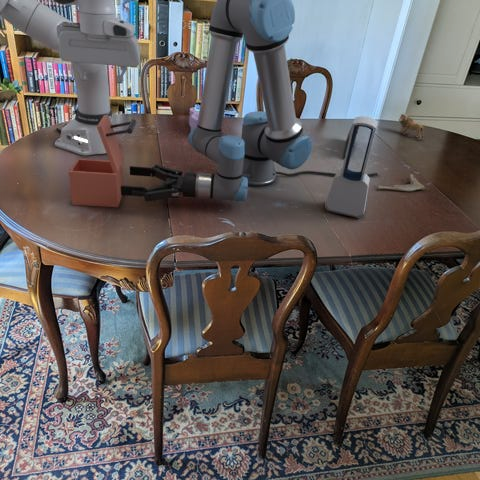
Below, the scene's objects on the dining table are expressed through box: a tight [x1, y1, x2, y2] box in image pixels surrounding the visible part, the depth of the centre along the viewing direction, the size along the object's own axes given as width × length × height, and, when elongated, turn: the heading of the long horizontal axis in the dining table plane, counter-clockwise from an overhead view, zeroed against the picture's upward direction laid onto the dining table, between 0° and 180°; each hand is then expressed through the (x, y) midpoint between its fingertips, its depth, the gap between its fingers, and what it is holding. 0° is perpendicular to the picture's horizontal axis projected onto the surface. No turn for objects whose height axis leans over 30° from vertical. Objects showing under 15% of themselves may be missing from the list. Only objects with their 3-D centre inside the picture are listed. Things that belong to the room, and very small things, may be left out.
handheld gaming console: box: [342, 123, 360, 159], centre depth 194 cm, size 23×3×10 cm, turn 161°
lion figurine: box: [398, 113, 425, 141], centre depth 218 cm, size 15×5×9 cm, turn 50°
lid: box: [97, 115, 137, 173], centre depth 133 cm, size 14×10×9 cm
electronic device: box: [324, 115, 379, 219], centre depth 142 cm, size 12×8×30 cm, turn 71°
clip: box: [188, 107, 199, 131], centre depth 199 cm, size 20×12×7 cm, turn 23°
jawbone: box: [376, 173, 426, 193], centre depth 169 cm, size 9×20×2 cm, turn 126°
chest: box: [68, 158, 124, 208], centre depth 140 cm, size 13×10×11 cm
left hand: (102, 81), depth 124 cm, fingers open, 8 cm apart
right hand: (125, 180), depth 140 cm, fingers open, 13 cm apart
